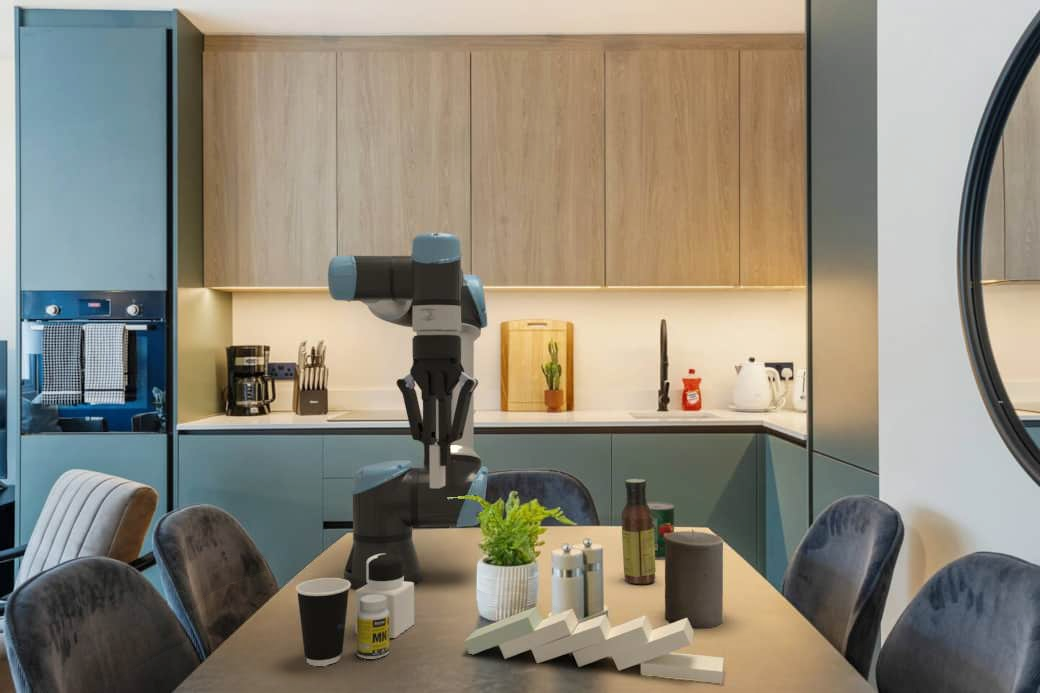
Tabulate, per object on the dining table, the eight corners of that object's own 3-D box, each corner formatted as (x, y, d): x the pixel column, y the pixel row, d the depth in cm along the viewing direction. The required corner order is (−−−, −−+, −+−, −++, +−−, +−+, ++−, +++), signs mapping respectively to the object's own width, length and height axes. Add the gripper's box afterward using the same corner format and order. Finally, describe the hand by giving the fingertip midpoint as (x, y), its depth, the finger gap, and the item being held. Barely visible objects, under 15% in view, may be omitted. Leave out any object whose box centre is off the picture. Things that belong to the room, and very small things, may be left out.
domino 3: (572, 652, 111) (641, 626, 108) (579, 640, 116) (646, 614, 113) (578, 667, 111) (648, 641, 108) (586, 654, 115) (653, 629, 113)
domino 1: (498, 644, 114) (564, 619, 111) (509, 632, 119) (572, 608, 116) (504, 658, 113) (570, 634, 111) (514, 646, 118) (578, 622, 115)
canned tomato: (638, 549, 177) (637, 501, 177) (673, 550, 176) (673, 502, 176) (638, 559, 169) (638, 508, 169) (675, 560, 168) (675, 509, 168)
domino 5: (640, 663, 108) (722, 671, 105) (645, 649, 112) (723, 657, 109) (640, 679, 108) (722, 688, 105) (645, 665, 112) (723, 673, 109)
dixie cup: (359, 662, 113) (359, 586, 113) (306, 675, 108) (306, 596, 108) (339, 646, 119) (338, 574, 119) (288, 657, 115) (287, 583, 115)
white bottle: (415, 624, 128) (414, 552, 129) (394, 639, 122) (394, 563, 122) (377, 620, 131) (376, 549, 131) (354, 634, 124) (354, 559, 124)
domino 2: (531, 648, 112) (599, 625, 109) (540, 636, 117) (606, 614, 114) (537, 663, 112) (605, 640, 109) (545, 650, 117) (612, 628, 114)
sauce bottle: (654, 576, 155) (653, 477, 155) (656, 586, 149) (656, 482, 149) (621, 576, 156) (620, 477, 156) (622, 585, 150) (621, 482, 150)
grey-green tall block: (464, 641, 115) (527, 616, 112) (475, 629, 120) (537, 606, 117) (469, 655, 115) (534, 631, 112) (481, 643, 120) (543, 619, 117)
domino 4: (612, 655, 109) (683, 629, 106) (618, 642, 114) (687, 617, 111) (618, 670, 109) (690, 645, 106) (624, 657, 113) (693, 632, 110)
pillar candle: (659, 624, 128) (660, 533, 128) (669, 605, 137) (669, 521, 137) (720, 632, 124) (720, 538, 124) (726, 612, 134) (726, 525, 134)
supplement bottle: (374, 663, 112) (373, 605, 113) (350, 656, 115) (350, 599, 115) (396, 652, 117) (395, 596, 117) (372, 646, 119) (372, 591, 119)
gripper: (387, 334, 118) (388, 489, 118) (467, 332, 114) (468, 492, 114) (408, 335, 125) (409, 481, 125) (484, 334, 121) (485, 484, 121)
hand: (437, 486), depth 119 cm, fingers closed
